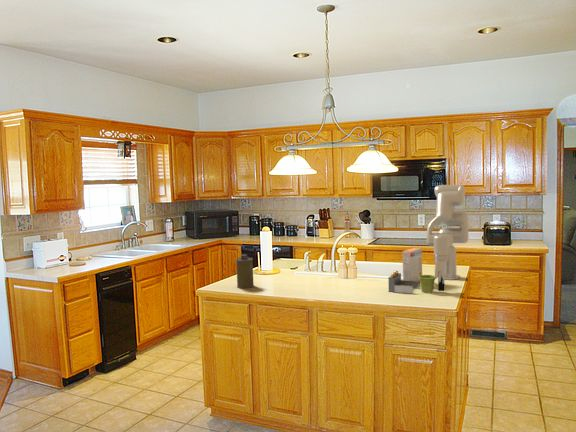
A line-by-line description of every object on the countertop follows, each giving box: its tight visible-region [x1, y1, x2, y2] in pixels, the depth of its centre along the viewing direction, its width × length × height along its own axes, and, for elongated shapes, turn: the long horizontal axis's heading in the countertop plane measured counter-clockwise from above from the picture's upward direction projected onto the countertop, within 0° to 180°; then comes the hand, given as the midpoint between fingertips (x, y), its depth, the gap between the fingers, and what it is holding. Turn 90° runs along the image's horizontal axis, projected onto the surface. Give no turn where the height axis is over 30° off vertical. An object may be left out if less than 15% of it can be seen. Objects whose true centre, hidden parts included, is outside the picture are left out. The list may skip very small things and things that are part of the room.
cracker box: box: [401, 247, 423, 284], centre depth 283 cm, size 14×6×21 cm, turn 137°
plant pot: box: [418, 274, 436, 294], centre depth 263 cm, size 9×9×9 cm
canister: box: [235, 254, 255, 289], centre depth 292 cm, size 11×10×20 cm
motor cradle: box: [387, 270, 419, 295], centre depth 269 cm, size 15×14×10 cm
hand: (441, 290), depth 260 cm, fingers closed
